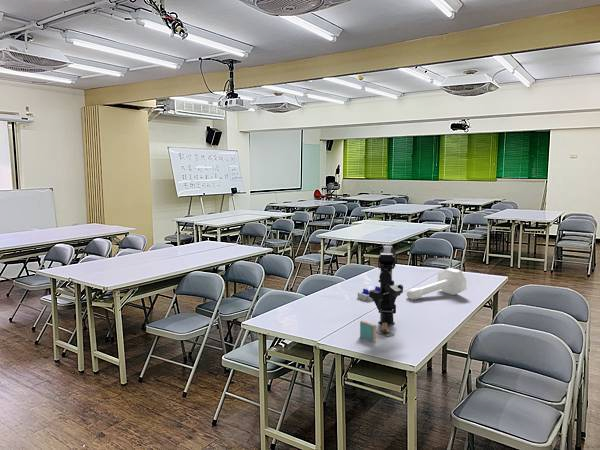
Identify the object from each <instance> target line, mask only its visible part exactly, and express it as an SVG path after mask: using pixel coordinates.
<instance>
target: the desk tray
mask: <svg viewBox="0 0 600 450" xmlns="http://www.w3.org/2000/svg"><path fill="white" fill-rule="evenodd" d="M374 290H375V288H371V289H368V292H370V291H374ZM357 299H359V300H362V301H365V302H372V301H373V302H374V300H373V299H372V298H371V297H369V295H366V294H363V290H362V291H357Z"/></svg>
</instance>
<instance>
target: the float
mask: <svg viewBox="0 0 600 450" xmlns="http://www.w3.org/2000/svg"><path fill="white" fill-rule="evenodd" d="M381 325H382V329H379V330H376V334H378V335H381V336H384V337H387V338H390V337H392V336H394V335H395V333H393V332H391V331H388V326H387V323H386V322H383V324H381Z"/></svg>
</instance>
